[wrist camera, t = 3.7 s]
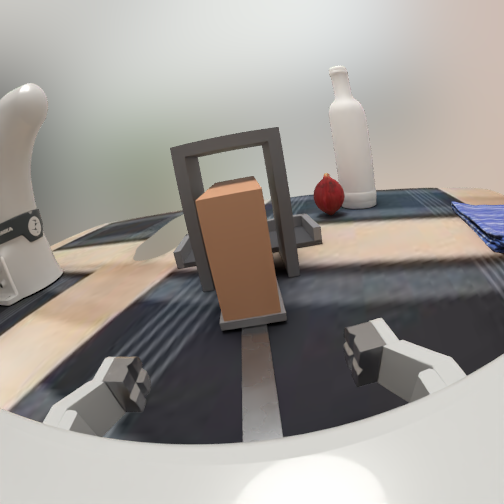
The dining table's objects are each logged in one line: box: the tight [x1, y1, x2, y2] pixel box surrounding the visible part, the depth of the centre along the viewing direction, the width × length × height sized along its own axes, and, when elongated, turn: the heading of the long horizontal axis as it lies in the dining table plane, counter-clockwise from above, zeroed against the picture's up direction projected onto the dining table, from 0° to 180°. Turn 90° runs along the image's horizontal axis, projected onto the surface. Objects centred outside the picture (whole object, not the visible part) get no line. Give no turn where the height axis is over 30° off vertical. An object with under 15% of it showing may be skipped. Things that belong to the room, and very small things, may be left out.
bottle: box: [329, 66, 376, 209], centre depth 50 cm, size 8×8×30 cm
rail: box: [242, 324, 283, 442], centre depth 22 cm, size 2×30×1 cm, turn 2°
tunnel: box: [170, 127, 300, 292], centre depth 30 cm, size 10×8×15 cm
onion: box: [314, 173, 345, 215], centre depth 49 cm, size 6×6×8 cm
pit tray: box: [173, 213, 322, 269], centre depth 41 cm, size 20×9×2 cm, turn 92°
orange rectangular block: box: [195, 176, 287, 331], centre depth 26 cm, size 5×14×10 cm, turn 2°
